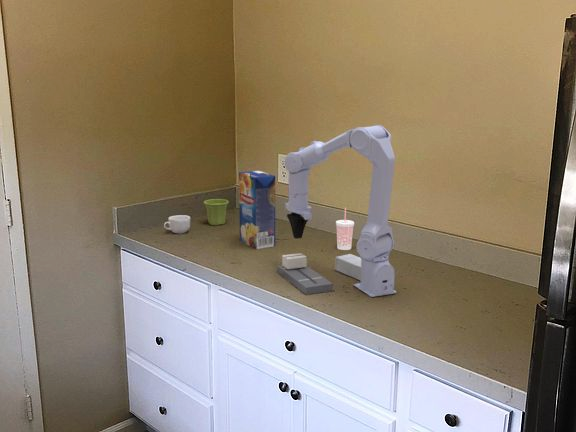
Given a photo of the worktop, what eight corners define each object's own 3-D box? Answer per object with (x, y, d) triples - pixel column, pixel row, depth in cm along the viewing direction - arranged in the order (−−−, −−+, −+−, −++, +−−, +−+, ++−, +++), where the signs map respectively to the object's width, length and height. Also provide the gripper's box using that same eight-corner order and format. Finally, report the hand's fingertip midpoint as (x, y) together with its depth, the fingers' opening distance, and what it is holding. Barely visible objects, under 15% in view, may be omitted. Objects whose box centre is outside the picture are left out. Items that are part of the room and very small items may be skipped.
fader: (306, 266, 177) (306, 256, 176) (287, 269, 175) (287, 258, 174) (300, 262, 181) (301, 252, 180) (282, 265, 178) (282, 255, 177)
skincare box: (334, 270, 182) (361, 283, 172) (334, 255, 180) (361, 268, 171) (350, 266, 185) (377, 278, 175) (351, 252, 184) (378, 264, 174)
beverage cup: (348, 244, 208) (350, 204, 204) (356, 249, 202) (357, 208, 199) (332, 246, 206) (333, 205, 202) (339, 251, 200) (340, 209, 197)
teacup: (184, 228, 227) (184, 214, 226) (194, 232, 221) (194, 218, 220) (159, 232, 221) (159, 217, 220) (169, 236, 215) (168, 222, 214)
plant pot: (201, 226, 230) (200, 203, 228) (208, 220, 239) (207, 198, 237) (225, 227, 229) (224, 204, 227) (231, 221, 238) (231, 199, 236)
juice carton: (275, 246, 205) (275, 175, 199) (255, 249, 202) (255, 177, 196) (258, 237, 215) (258, 170, 209) (239, 240, 212) (238, 172, 206)
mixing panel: (332, 290, 165) (332, 283, 164) (305, 294, 162) (305, 287, 161) (301, 268, 183) (301, 261, 182) (277, 271, 180) (277, 265, 179)
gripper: (321, 196, 173) (320, 242, 176) (300, 187, 186) (299, 230, 189) (299, 198, 170) (298, 245, 173) (279, 189, 183) (278, 232, 186)
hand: (297, 237), depth 181 cm, fingers closed
